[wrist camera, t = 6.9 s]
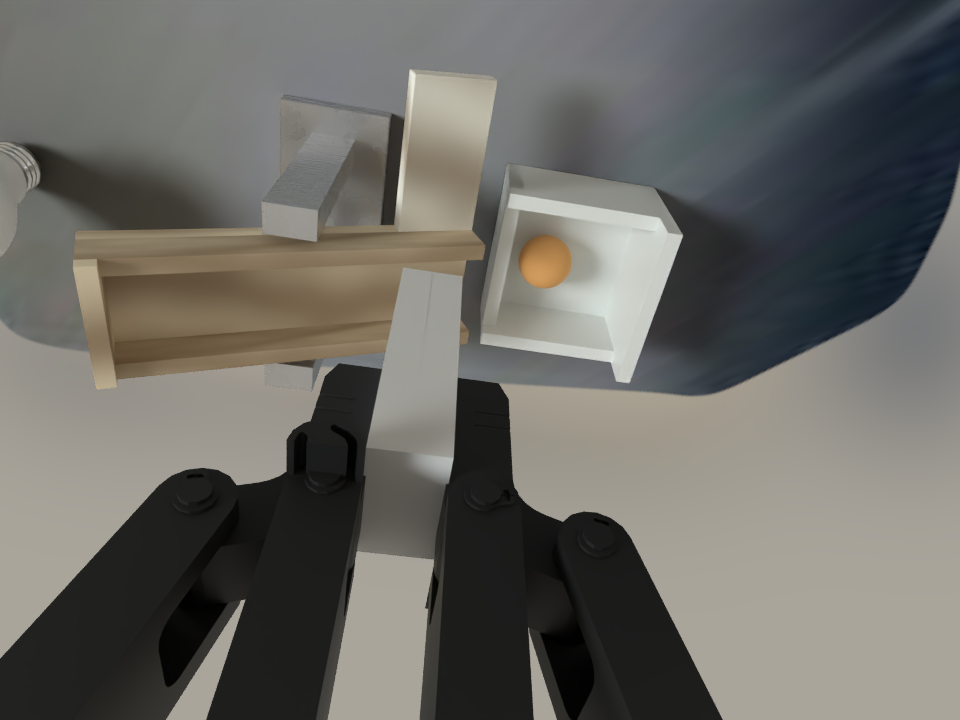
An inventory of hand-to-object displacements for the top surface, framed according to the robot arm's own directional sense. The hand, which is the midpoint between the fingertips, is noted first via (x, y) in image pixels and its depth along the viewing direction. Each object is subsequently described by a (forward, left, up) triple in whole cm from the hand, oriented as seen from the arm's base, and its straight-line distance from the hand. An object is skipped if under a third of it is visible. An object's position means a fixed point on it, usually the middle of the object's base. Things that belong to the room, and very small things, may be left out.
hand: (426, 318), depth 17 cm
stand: (+8, -6, -24) cm, 26 cm away
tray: (+8, +8, -24) cm, 27 cm away
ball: (+8, +7, -22) cm, 24 cm away
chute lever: (+4, -7, -16) cm, 18 cm away
